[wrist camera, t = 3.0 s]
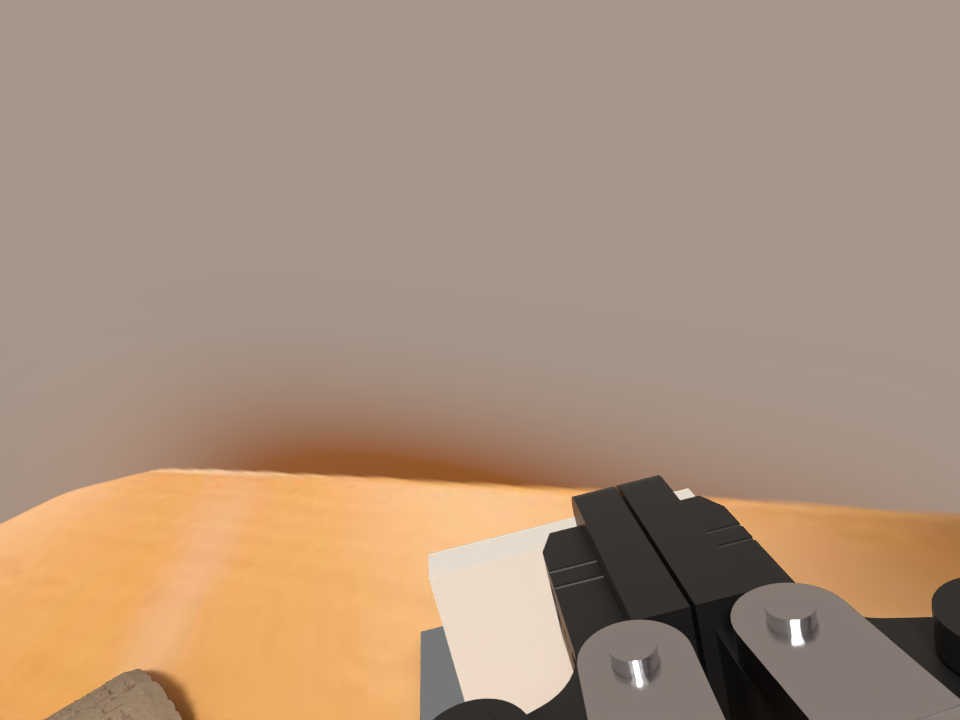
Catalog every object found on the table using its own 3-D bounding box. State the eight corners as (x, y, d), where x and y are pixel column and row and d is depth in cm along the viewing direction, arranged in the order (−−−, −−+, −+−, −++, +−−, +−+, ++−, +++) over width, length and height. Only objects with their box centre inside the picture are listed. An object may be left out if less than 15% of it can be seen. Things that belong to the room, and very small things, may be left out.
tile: (739, 782, 30) (687, 487, 27) (757, 816, 29) (704, 507, 25) (511, 842, 30) (428, 553, 27) (515, 878, 29) (428, 577, 25)
